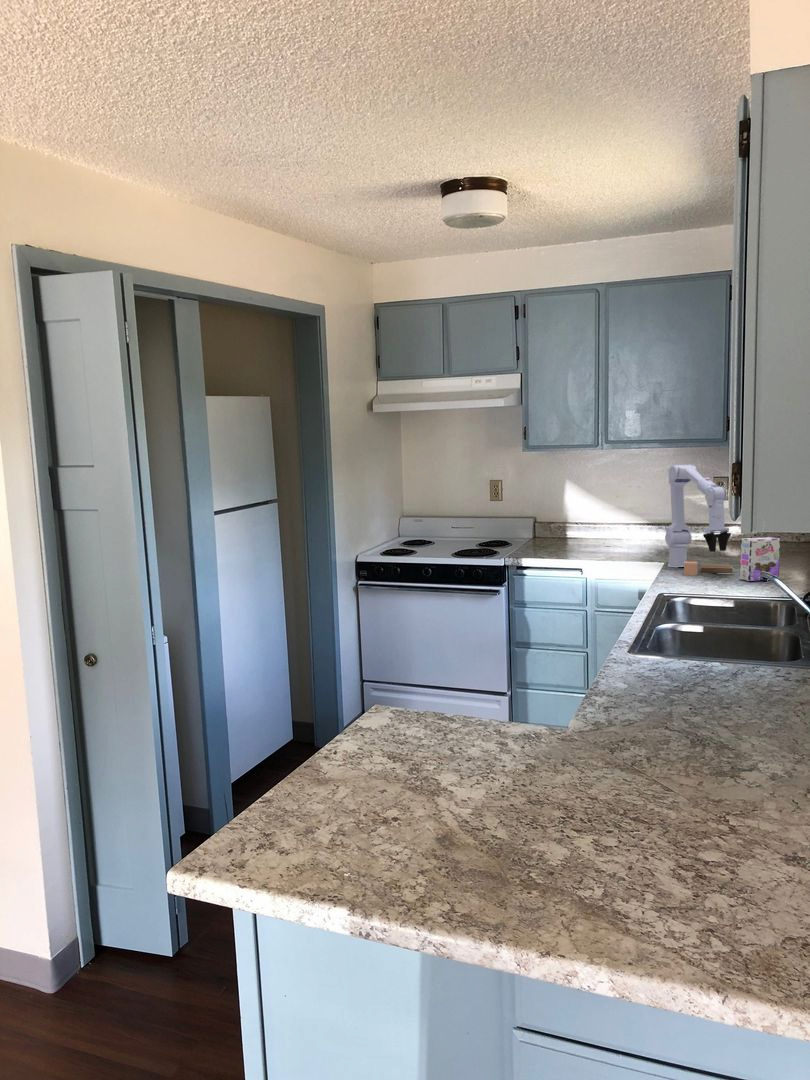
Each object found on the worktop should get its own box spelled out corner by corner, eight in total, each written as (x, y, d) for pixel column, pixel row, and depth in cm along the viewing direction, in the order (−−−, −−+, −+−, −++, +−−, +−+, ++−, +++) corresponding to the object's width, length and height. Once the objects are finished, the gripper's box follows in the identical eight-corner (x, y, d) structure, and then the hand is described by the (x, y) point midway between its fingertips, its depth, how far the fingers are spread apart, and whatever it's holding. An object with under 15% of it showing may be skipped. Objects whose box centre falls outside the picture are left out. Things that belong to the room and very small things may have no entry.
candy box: (748, 582, 319) (750, 539, 317) (738, 580, 324) (740, 538, 323) (779, 580, 322) (781, 538, 321) (769, 578, 328) (770, 536, 326)
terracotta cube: (684, 573, 343) (684, 561, 342) (697, 573, 341) (697, 561, 341) (684, 575, 338) (684, 563, 337) (697, 575, 336) (697, 563, 336)
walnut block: (699, 570, 353) (700, 563, 352) (730, 571, 349) (730, 564, 349) (700, 574, 341) (701, 567, 341) (732, 575, 338) (732, 568, 337)
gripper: (715, 517, 325) (717, 551, 325) (735, 516, 334) (736, 550, 334) (699, 517, 330) (700, 552, 330) (719, 517, 339) (720, 550, 339)
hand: (717, 551), depth 332 cm, fingers open, 7 cm apart
